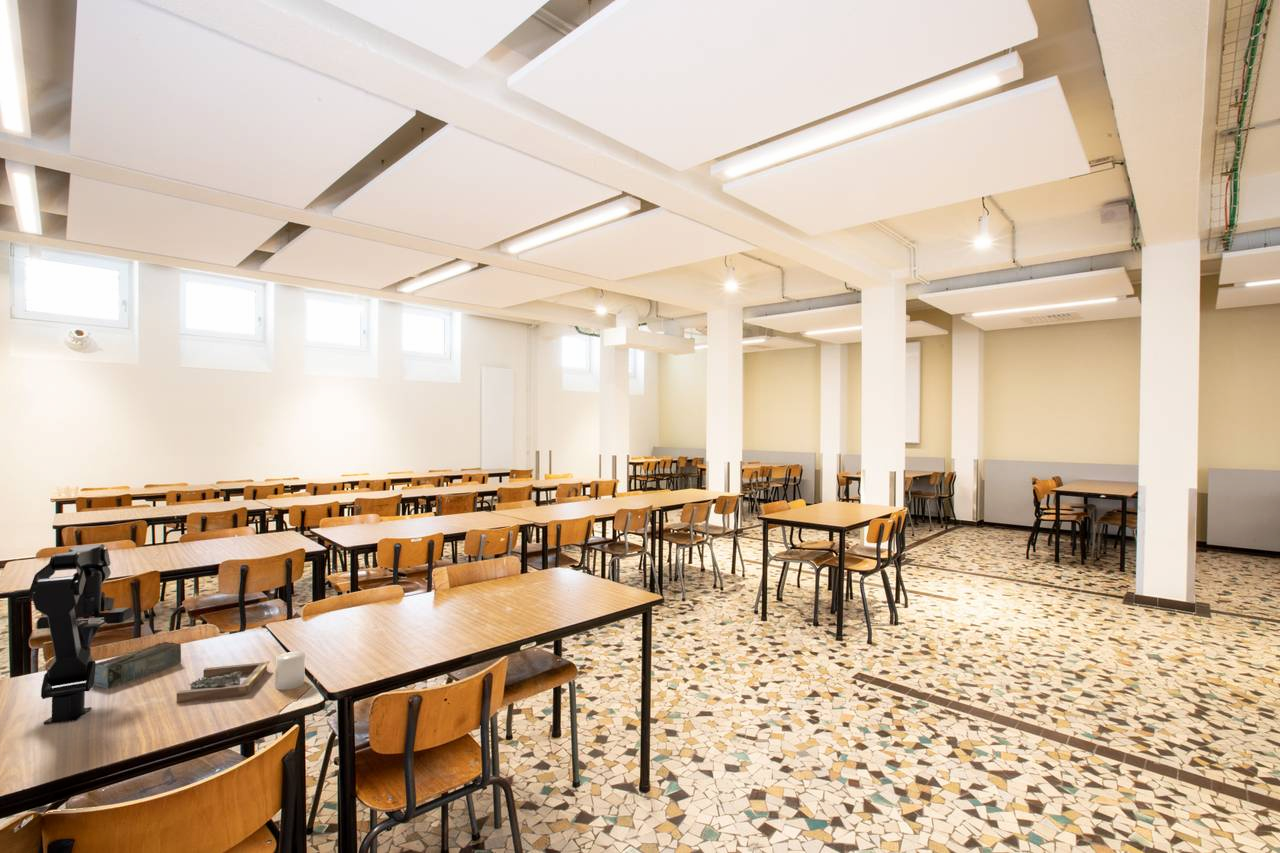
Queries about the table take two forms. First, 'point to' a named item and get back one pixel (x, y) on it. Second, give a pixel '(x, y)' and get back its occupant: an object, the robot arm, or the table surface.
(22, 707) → the table surface
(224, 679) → the egg carton
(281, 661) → the off-white rounded cube
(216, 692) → the frame
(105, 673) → the grey-green printed box
